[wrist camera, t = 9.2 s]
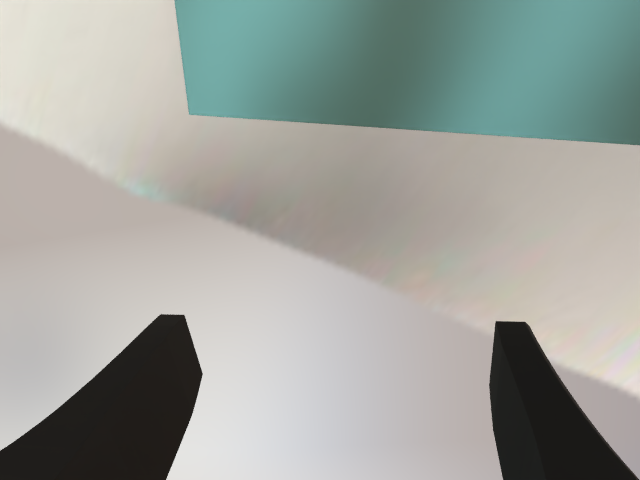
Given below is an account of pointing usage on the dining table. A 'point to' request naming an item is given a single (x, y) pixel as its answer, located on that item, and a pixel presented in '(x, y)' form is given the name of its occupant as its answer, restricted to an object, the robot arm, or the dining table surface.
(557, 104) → the socket board
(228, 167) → the dining table surface
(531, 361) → the robot arm
